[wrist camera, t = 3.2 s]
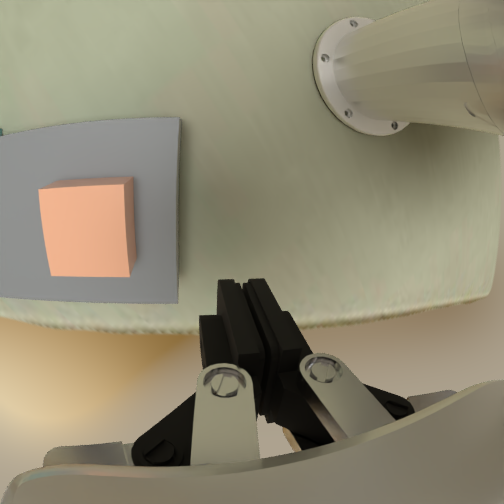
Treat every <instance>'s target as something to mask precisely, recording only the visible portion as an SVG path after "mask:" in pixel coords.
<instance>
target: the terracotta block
mask: <svg viewBox="0 0 504 504" xmlns="http://www.w3.org/2000/svg"><path fill="white" fill-rule="evenodd" d="M38 191H39V202H40V212H41V220H42V228H43V234H44V241H45V247H46V252H47V258H48V263H49V268H50V272H51V276H74V277H130V275H131V273H132V270H133V267H134V264H135V261H136V259H137V255H136V242H135V224H134V193H133V177H106V178H87V179H72V180H59V181H55V182H53V183H51V184H49V185H47V186H45V187H42V188H40V189H38Z"/></svg>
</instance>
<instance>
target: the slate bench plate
mask: <svg viewBox="0 0 504 504" xmlns="http://www.w3.org/2000/svg"><path fill="white" fill-rule="evenodd" d="M181 127H182V120H181V119H180V117H157V118H128V119H112V120H100V121H89V122H80V123H72V124H64V125H57V126H51V127H44V128H38V129H33V130H28V131H23V132H18V133H13V134H8V135H4V136H0V297H5V298H18V299H32V300H47V301H66V302H91V303H136V304H178V287H179V256H178V198H179V164H180V143H181ZM106 177H133V193H134V224H135V242H136V255H137V259H136V261H135V264H134V267H133V270H132V273H131V275H130V277H74V276H51V272H50V268H49V263H48V258H47V252H46V247H45V241H44V234H43V228H42V220H41V212H40V202H39V191H38V189H40V188H42V187H45V186H47V185H49V184H51V183H53V182H55V181H59V180H72V179H87V178H106Z"/></svg>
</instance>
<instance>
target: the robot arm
mask: <svg viewBox="0 0 504 504" xmlns="http://www.w3.org/2000/svg"><path fill="white" fill-rule="evenodd" d="M321 58H322V59H323V61H322V60H321ZM313 71H314V76H315V80H316V84H317V87H318V89H319V91H320V94H321V96H322V98H323V100H324V101H325V103H326V104H327V106H328V107H329V109H330V110H331V111H332V112H333V113H334V114H335V116H336V117H337V118H338V119H340V120H341V121H342V122H343V123H344V124H346V125H347V126H349V127H351V128H352V129H354V130H356V131H358V132H361V133H364V134H368V135H375V136H387V135H391V134H395V133H397V132H399V131H401V130H403V129H404V128H405V127H406V126H407V125H409V124H410V122H413V123H424V124H434V125H442V126H450V127H458V128H464V129H471V130H477V131H482V132H488V133H493V134H498V135H502V136H504V0H432V1H429V2H426V3H423V4H420V5H417V6H414V7H411V8H408V9H405V10H402V11H400V12H397V13H394V14H392V15H389V16H387V17H384V18H382V19H379V20H377V21H376V20H373V19H370V18H366V17H347V18H344V19H341V20H339V21H337V22H335V23H333V24H332V25H330V26H329V27H328V28H327V29H326V30H324V31H323V33H322V34H321V36H320V37H319V39H318V41H317V43H316V46H315V49H314V55H313ZM344 112H346V115H345V113H344ZM199 331H200V348H201V358H202V366H203V371H202V372H201V373H200V374H199V376H198V380H197V388H196V392H195V393H194V394H193V395H192V396H190V397H189V398H188V399H187V400H186V401H184V402H183V403H182V404H181V405H180V406H178V407H177V408H176V409H175V410H173V411H172V412H171V413H170V414H169V415H167V416H166V417H165V418H163V419H162V420H161V421H160V422H159V423H157V424H156V425H155V426H153V427H152V428H151V429H150V430H148V431H147V432H146V433H144V434H143V435H142V436H140V437H139V438H138V439H137V440H136V441H135V442H134V443H130V444H122V442H113V443H105V444H94V445H80V446H61V447H57V448H53V449H52V450H50V451H48V452H47V454H46V455H45V457H44V461H43V467H41V468H37V469H32V470H30V471H27V472H23V473H21V474H19V475H17V476H16V477H15V478H13V480H12V481H11V482H10V483H9V485H8V486H7V488H6V490H5V493H4V495H3V497H2V501H1V504H504V380H492V381H487V382H483V383H479V384H476V385H473V386H471V387H468V388H466V389H464V390H462V391H460V392H455V391H452V390H445V391H440V392H435V393H429V394H423V395H417V396H410V397H408V398H407V399H405V398H403V397H400V396H398V395H395V394H392V393H388V392H386V391H383V390H380V389H377V388H374V387H371V386H368V385H366V384H363V383H361V382H360V381H359V379H358V378H357V377H356V376H355V375H354V374H353V373H352V372H351V370H349V368H348V367H347V366H346V365H345V364H344V363H343V362H342V361H341V360H340V359H338V358H336V357H335V356H333V355H329V354H325V353H316V354H313V353H312V351H311V350H310V347H309V346H308V344H307V342H306V340H305V339H304V337H303V335H302V334H301V332H300V330H299V328H298V327H297V325H296V323H295V321H294V320H293V318H292V316H291V314H290V313H289V312H288V311H282V310H281V308H280V306H279V305H278V303H277V301H276V299H275V297H274V295H273V294H272V292H271V290H270V288H269V286H268V284H267V283H266V281H265V279H264V278H262V279H249V280H248V283H243V287H242V288H241V285H240V283H235V282H234V279H225V280H218V289H217V315H200V316H199ZM258 413H259V415H260V416H261V415H265V418H266V421H267V423H273V422H275V423H276V424H278V425H280V426H282V427H283V433H284V435H285V437H286V439H287V441H288V442H289V444H290V446H291V447H292V449H293V451H294V453H289V454H284V455H279V456H275V457H269V458H262V459H260V452H259V443H258V433H257V423H256V422H257V417H258Z"/></svg>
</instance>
